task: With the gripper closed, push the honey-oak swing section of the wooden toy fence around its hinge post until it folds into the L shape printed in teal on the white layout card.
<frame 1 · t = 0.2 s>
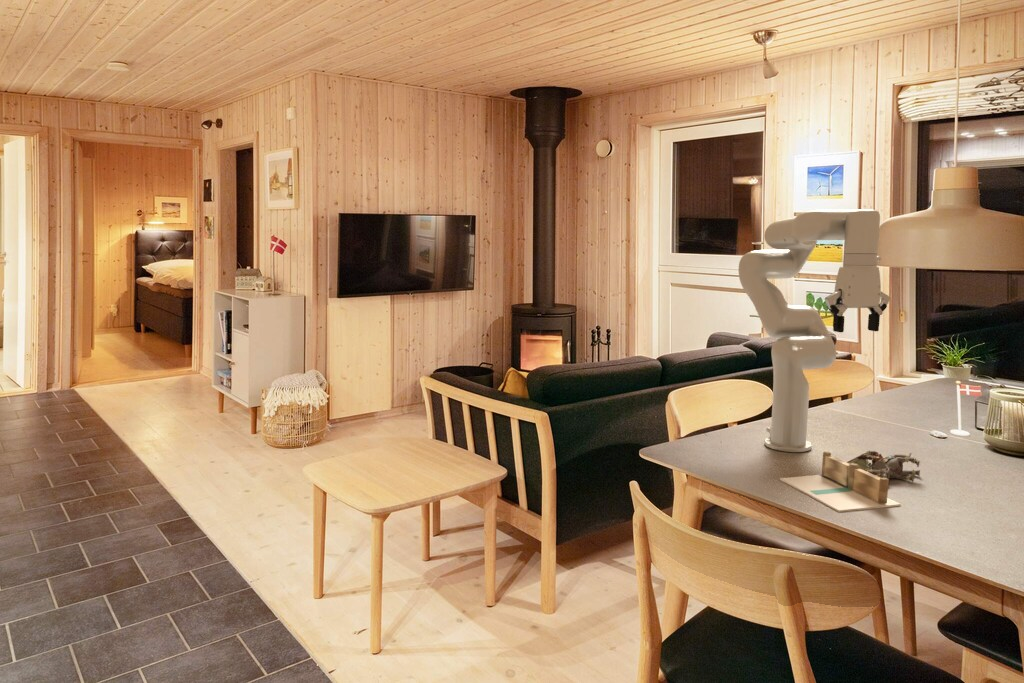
hand: (855, 331, 186), 36 cm above the table, tool pointing down, fingers open, 9 cm apart
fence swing: (871, 485, 172), point 3 cm above the table, hinge at 0.0°
layout card: (837, 492, 178), on the table
figurine: (879, 476, 191), on the table
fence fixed: (851, 490, 179), resting on layout card
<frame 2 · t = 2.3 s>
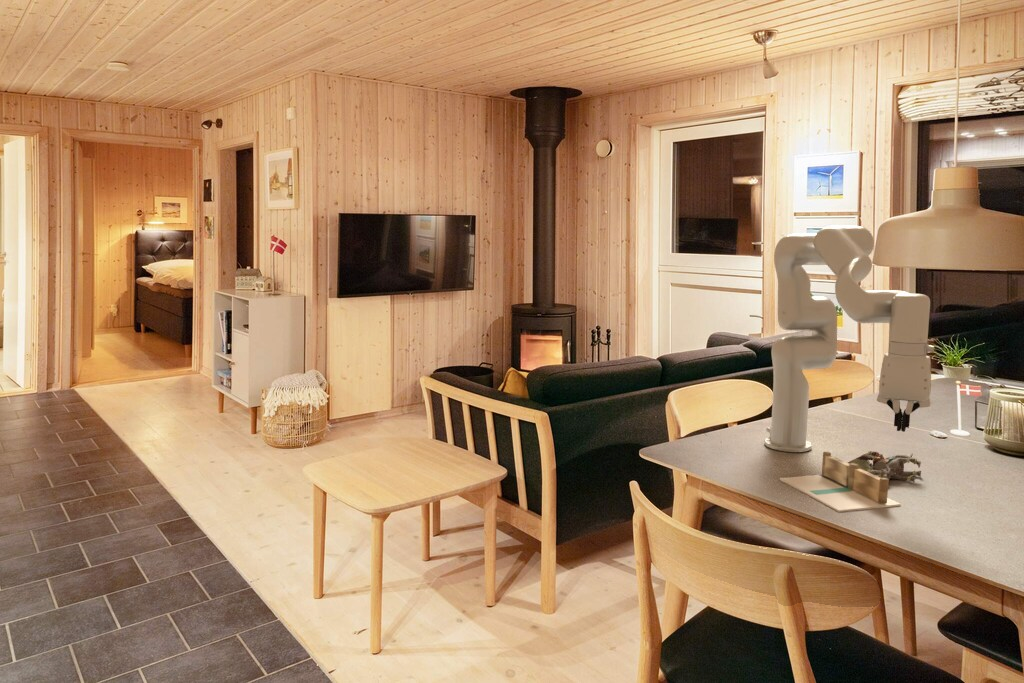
hand: (901, 429, 170), 17 cm above the table, tool pointing down, fingers closed
nothing on the table moved.
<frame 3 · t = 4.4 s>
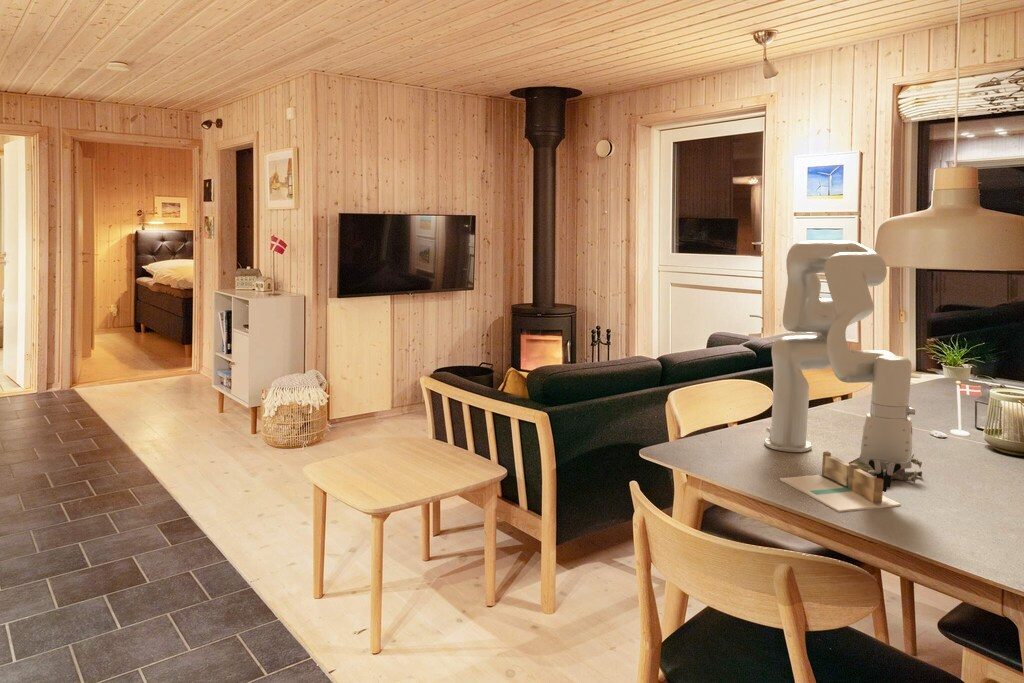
hand: (882, 489, 172), 3 cm above the table, tool pointing down, fingers closed
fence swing: (868, 485, 172), point 3 cm above the table, hinge at -7.3°, touching gripper
everything else where it was.
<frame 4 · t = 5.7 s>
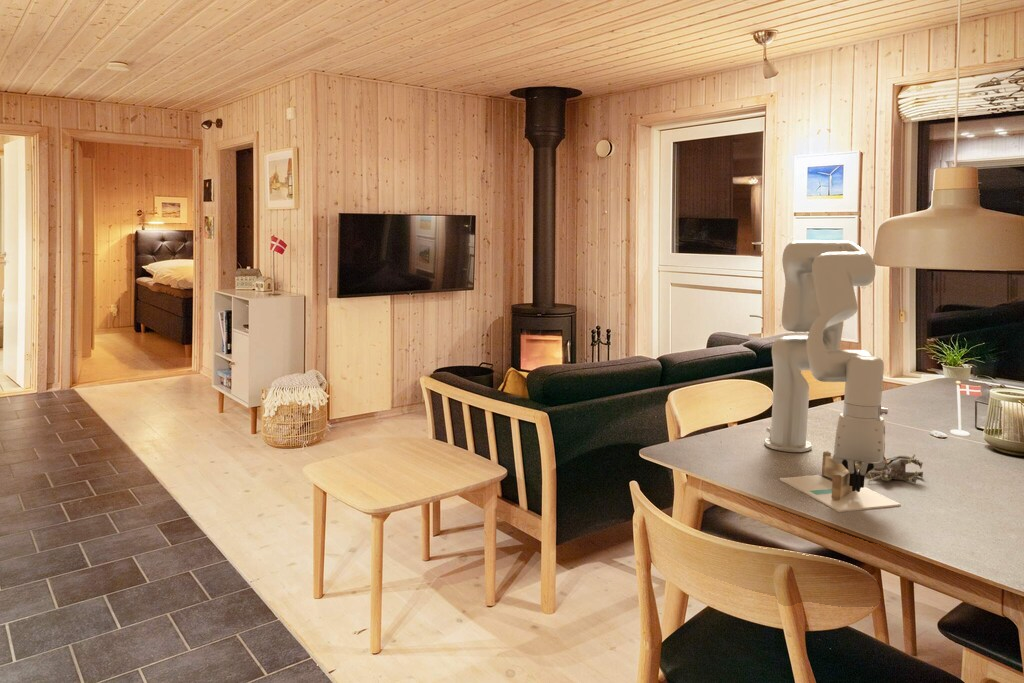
hand: (856, 489, 172), 3 cm above the table, tool pointing down, fingers closed
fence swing: (843, 482, 174), point 3 cm above the table, hinge at -58.2°, touching gripper
everything else where it was.
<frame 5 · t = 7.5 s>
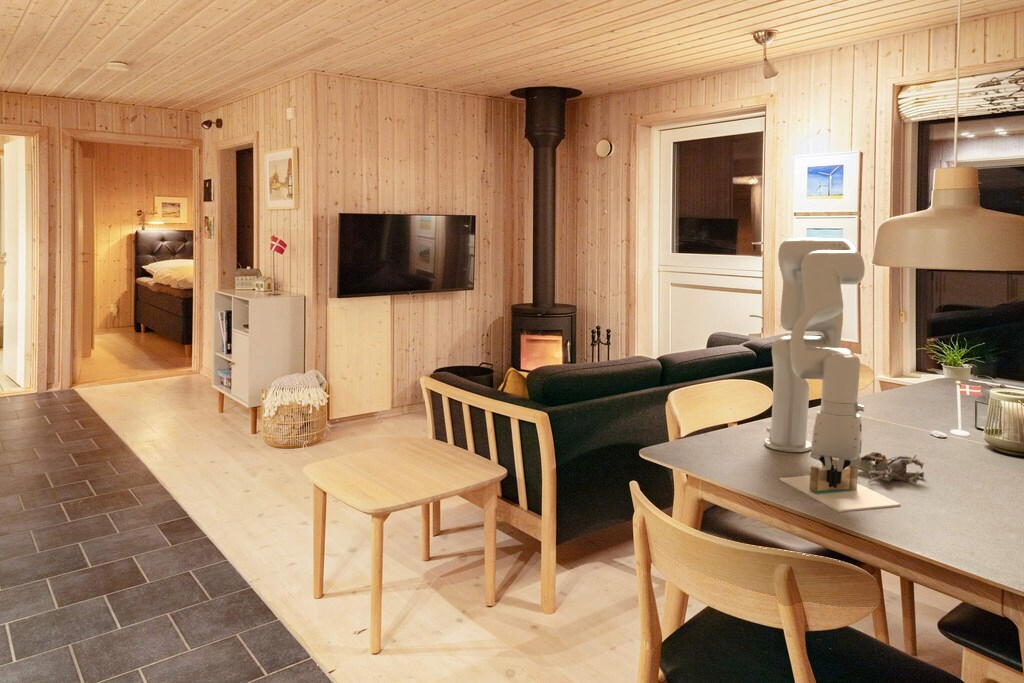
hand: (833, 485, 174), 3 cm above the table, tool pointing down, fingers closed
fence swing: (829, 477, 177), point 3 cm above the table, hinge at -94.0°
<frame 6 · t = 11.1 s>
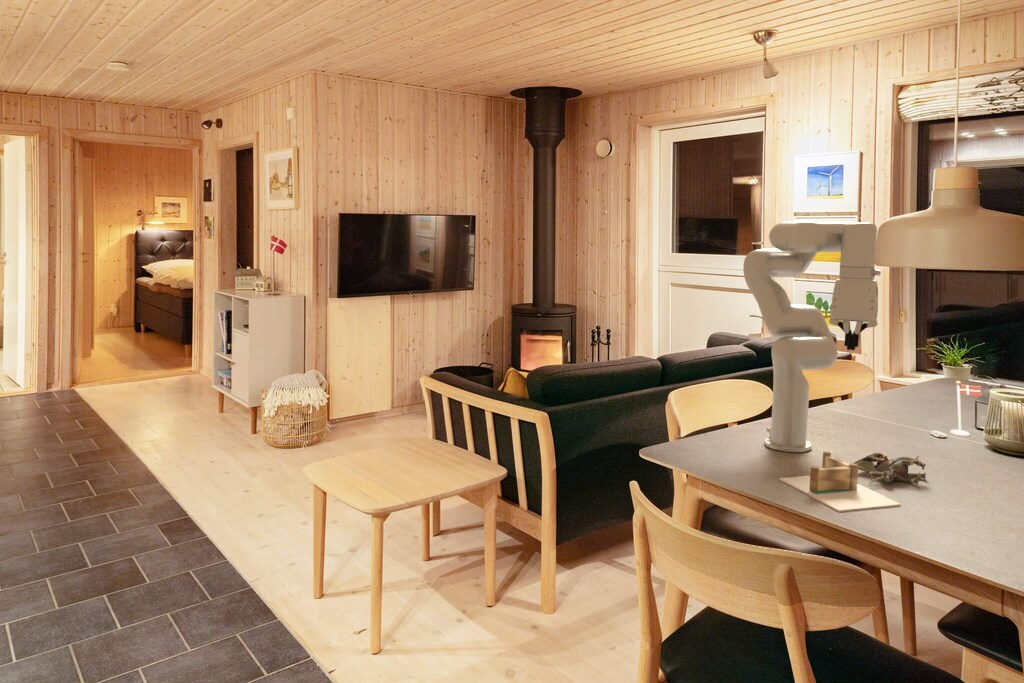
hand: (851, 349, 185), 32 cm above the table, tool pointing down, fingers closed
at the end: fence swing at -94° (first picture: +0°) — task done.
